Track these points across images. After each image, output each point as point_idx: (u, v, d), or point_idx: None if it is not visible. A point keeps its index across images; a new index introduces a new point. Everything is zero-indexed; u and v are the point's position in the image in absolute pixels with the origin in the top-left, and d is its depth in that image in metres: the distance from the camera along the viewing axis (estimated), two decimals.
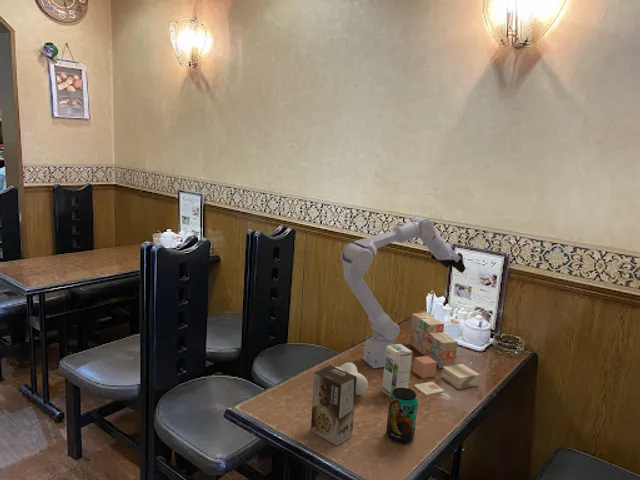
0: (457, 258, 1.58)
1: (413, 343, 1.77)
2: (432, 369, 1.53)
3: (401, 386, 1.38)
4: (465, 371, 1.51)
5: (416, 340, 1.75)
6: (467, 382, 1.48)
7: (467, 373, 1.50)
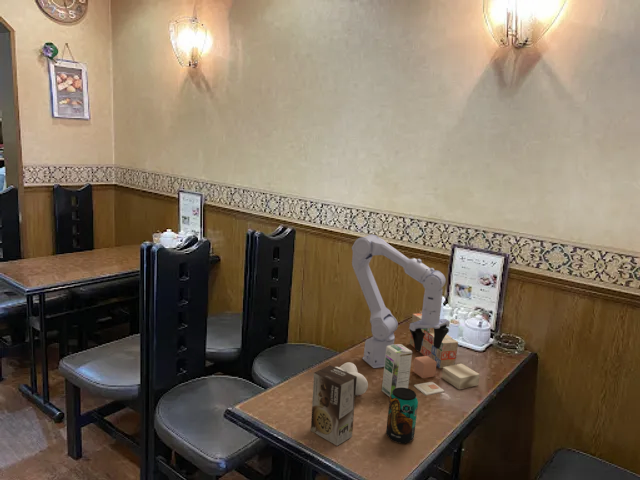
0: (411, 326, 1.50)
1: (413, 343, 1.77)
2: (432, 369, 1.53)
3: (401, 386, 1.38)
4: (465, 371, 1.51)
5: None
6: (467, 382, 1.48)
7: (467, 373, 1.50)
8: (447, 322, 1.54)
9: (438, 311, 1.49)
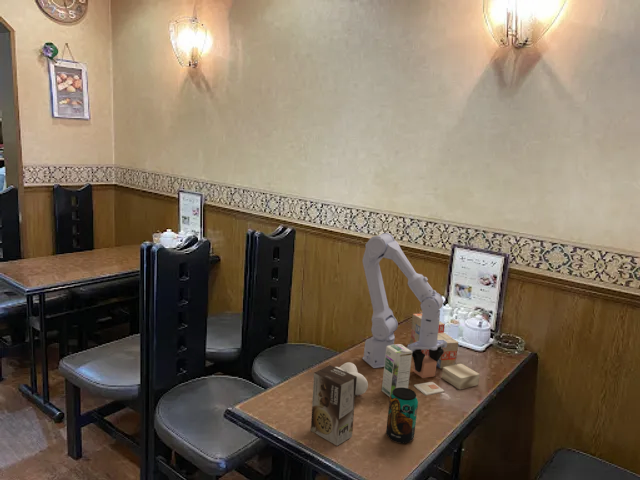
0: (408, 348, 1.51)
1: None
2: (432, 369, 1.53)
3: (401, 386, 1.38)
4: (465, 371, 1.51)
5: (417, 340, 1.75)
6: (467, 382, 1.48)
7: (467, 373, 1.50)
8: (444, 343, 1.55)
9: (435, 333, 1.51)
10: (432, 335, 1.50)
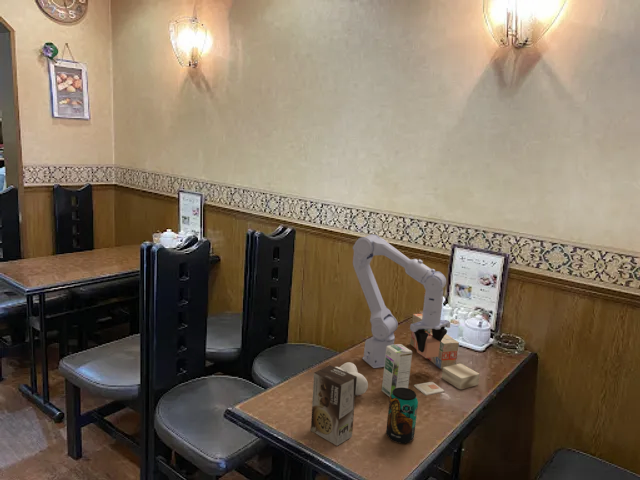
0: (411, 327, 1.50)
1: (414, 344, 1.77)
2: (435, 349, 1.52)
3: (401, 386, 1.38)
4: (465, 371, 1.51)
5: None
6: (468, 382, 1.48)
7: (467, 373, 1.50)
8: (448, 323, 1.54)
9: (439, 312, 1.49)
10: (435, 314, 1.49)
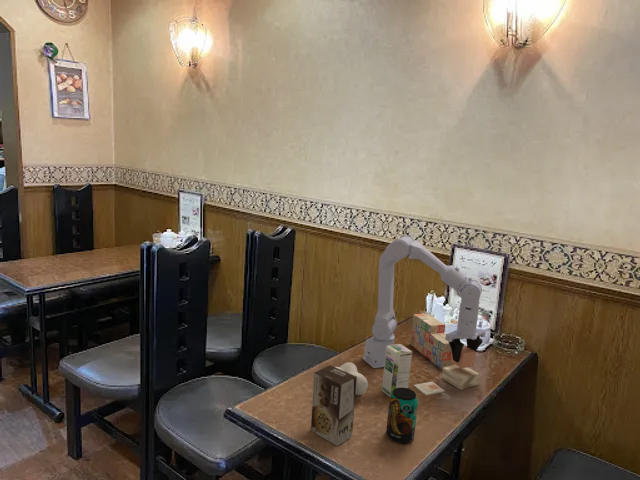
0: (447, 337, 1.46)
1: (414, 344, 1.77)
2: (470, 359, 1.49)
3: (401, 386, 1.38)
4: (465, 371, 1.51)
5: (417, 340, 1.74)
6: (468, 382, 1.48)
7: (467, 373, 1.50)
8: (483, 332, 1.51)
9: (475, 321, 1.46)
10: (471, 324, 1.45)
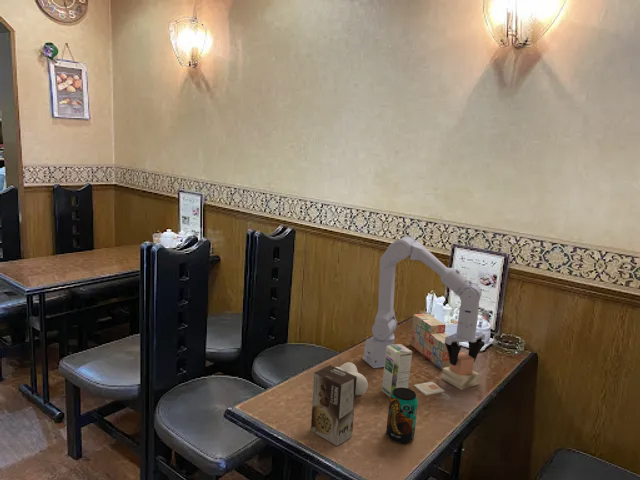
0: (446, 340, 1.46)
1: (414, 344, 1.77)
2: (469, 366, 1.49)
3: (401, 386, 1.38)
4: None
5: (417, 340, 1.74)
6: (468, 382, 1.48)
7: None
8: (482, 335, 1.51)
9: (474, 324, 1.46)
10: (471, 327, 1.46)
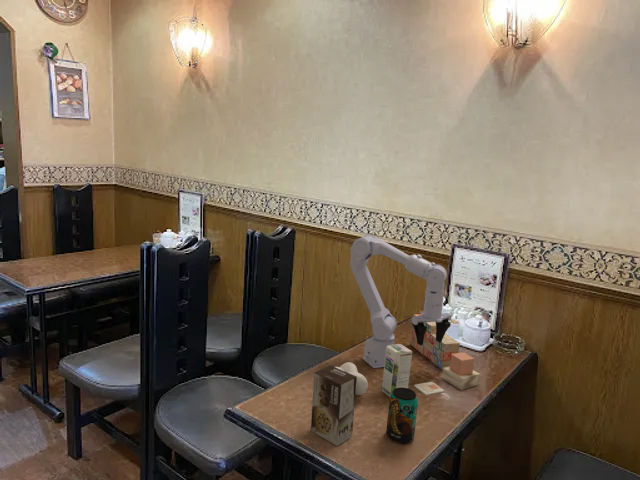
0: (413, 320, 1.50)
1: (414, 344, 1.76)
2: (469, 366, 1.49)
3: (401, 386, 1.38)
4: None
5: None
6: (469, 382, 1.48)
7: None
8: (449, 316, 1.55)
9: (440, 305, 1.50)
10: (437, 307, 1.50)
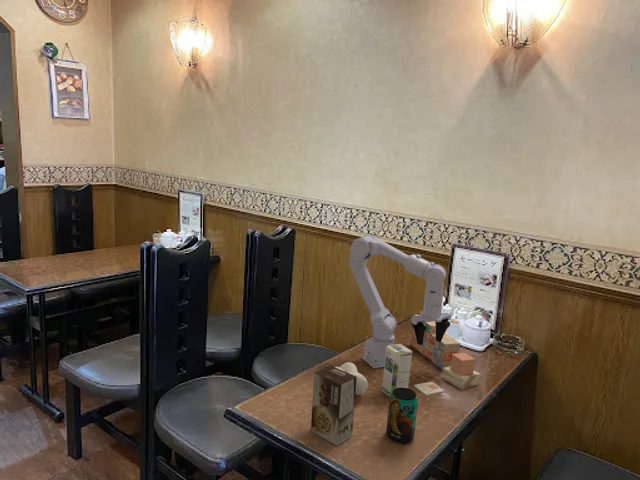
0: (412, 320, 1.50)
1: (415, 344, 1.76)
2: (470, 366, 1.49)
3: (401, 386, 1.38)
4: None
5: None
6: (469, 382, 1.48)
7: None
8: (448, 316, 1.55)
9: (439, 305, 1.50)
10: (436, 307, 1.50)
